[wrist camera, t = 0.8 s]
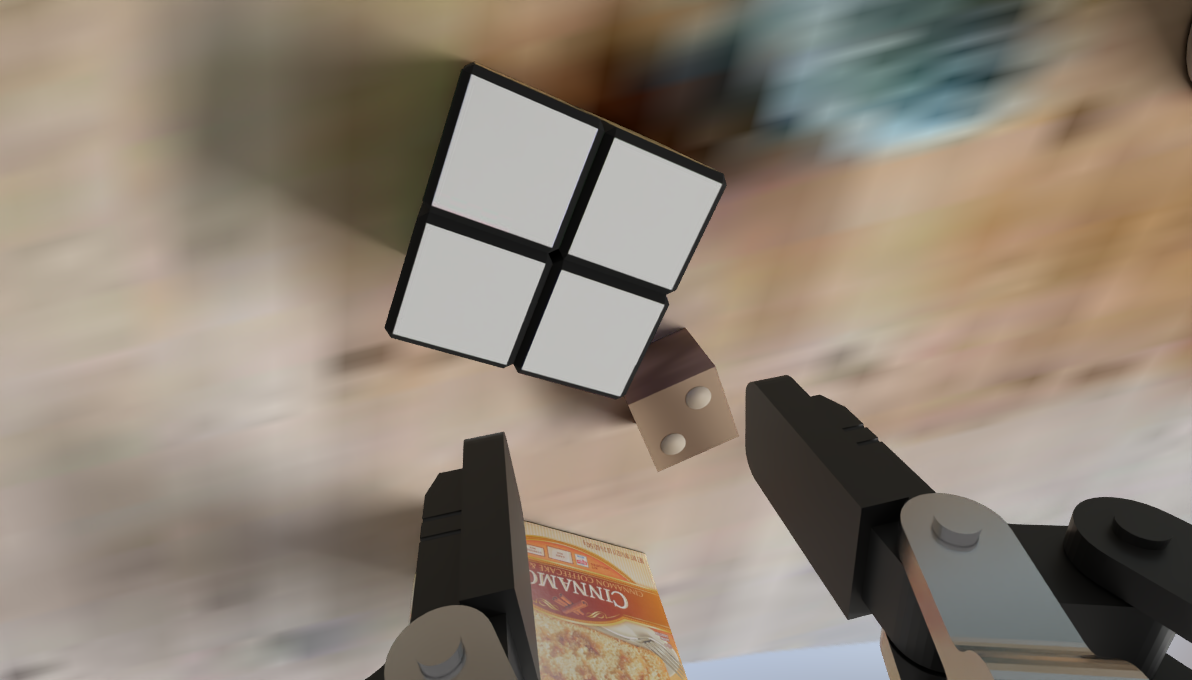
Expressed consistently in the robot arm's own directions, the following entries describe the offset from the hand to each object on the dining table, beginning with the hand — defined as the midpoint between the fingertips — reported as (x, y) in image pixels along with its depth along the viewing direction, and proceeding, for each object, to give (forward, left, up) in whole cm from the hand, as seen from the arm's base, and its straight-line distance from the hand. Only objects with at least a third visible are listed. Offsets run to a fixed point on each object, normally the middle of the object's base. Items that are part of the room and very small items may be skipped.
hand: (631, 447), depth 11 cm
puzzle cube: (0, 0, -22) cm, 22 cm away
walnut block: (-6, +12, -21) cm, 25 cm away
